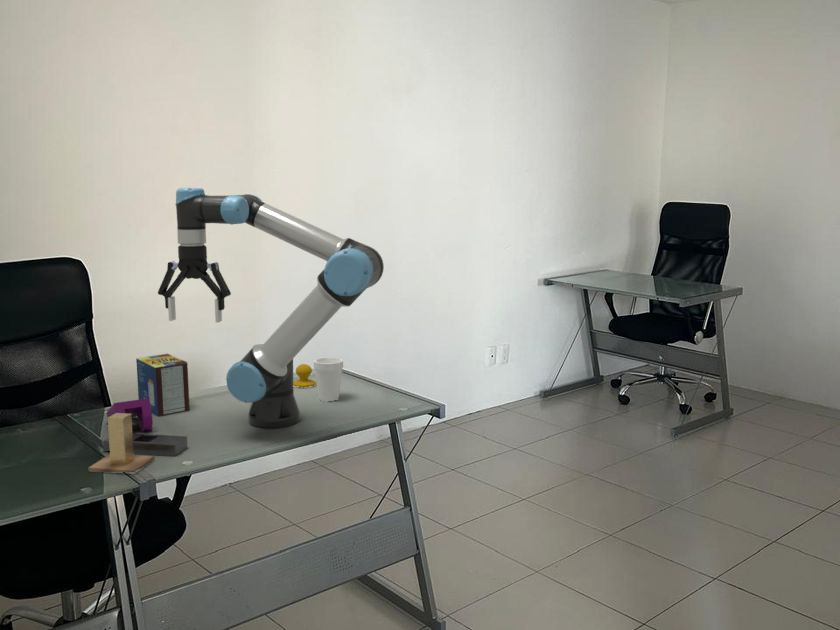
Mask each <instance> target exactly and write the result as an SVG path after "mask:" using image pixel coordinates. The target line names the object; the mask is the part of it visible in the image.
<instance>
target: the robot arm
mask: <svg viewBox="0 0 840 630" xmlns="http://www.w3.org/2000/svg"><path fill="white" fill-rule="evenodd" d="M175 208H176V209H175V211H176V222H177V223H176V224H177V226H176V228H177V230H176V231H177V244H178V247H177V254H178V257H177V258H178V262H176V261H174V260H172V261H169V262H168V263H167V270H166V272H165V274H164V277H163V280H162V281H161V283H160V286H159V288H158V291H157V294H158V295H160V296H162V297H164V303H165V308H166V309H168V322H169V321H170V322H172V321H173V322H174V321H176V319H177V316H176V315H177V313H176V297H175V296H173V294H174V293H175V292H176V291H177V289H179V287H180V285H181V284H182V283H183V282H184V280H186V279H188V280H190V279H194V280H198V279H200V280H201V281H203V282H204V284H205V285H206V286H207V287H208V288H209V290H210V291H211V292H212V293H213V294H214V295H215V297H216V298H215V299H214V314H215V315H214V317H215V323H217V324H218V323H221V322H222V321H223V315H222V314H223V313H222V311H223V310H225V308H226V307H225V298H226V297H230V296H232V295H231V294H232V293H231V291H230V287H228V284H227V283H226V281H225V279H224V277H223V275H222V273H221V271H220V265H219V263H218V262H217V261H215V262H213V263H208V260H207V259H208V252H207V246H206V245H205V244H206V243H207V230H206V228H207V224H218V225H219V224H223V225H241V224H247V225H249V226H251V227H253V228H256V229H258V230H260V231H262V232H264V233H266V234H268V235H271V236H273V237H275V238H277V239H279V240H281V241H283V242H285V243H288V244H290V245H291V246H294V247H296V248H298V249H300V250H301V251H304V252H307V253H309V254H310V255H313V256H315V257H317V258H319V259H322V260H323V261H325V262H326V263H325V266H324V269H323V270H322V271H321V272H320V273H319V274H318V275H317V277H316V281H317V283H316V284H317V285H316V286H315V287H314V288H313V289H312V290H311V291H310V293H309V294H308V295H306V297H305V298H304V299H303V300H302V301H301V302H300V304H299V305H298V306H297V307H296V308H295V309H294V310H293V311H292V312H291V314H290V315H289V316H288V317H287V318H286V319H285V320H284V321H283V322H282V324H281V325H279V327H277V329H276V330H275V331H274V332H273V333H272V334H271V335H270V336H269V338H267V340H266V341H264V343H261V344H260V343H258V344H255V345H253V346H252V347H251V349H250V350H249V351H248V352H247V353H246V354H245V355H244V356H243V358H242V359H241V360H239V361H237V362H235V363H233V364H232V366H231V367H230V368H229V369H228V370H227V373H226V379H225V380H226V386H227V389H228V391H229V392H230V394H231V395H232V396H233V397H234V398H235V399H236V400H237V401H239V402H241V403H246V404H247V403H248V404H250V407H249V410H248V414H247V417H248V418H247V419H248V421H247V422H248V423H249V424H250V426H253V427H259V428H266V429H269V428H270V429H272V428H273V429H275V428H285V427H290V426H292V425H295V424H297V423H299V421H300V420H301V412H300V409H299V407H298V402H297V400H296V397H295V395H294V394H295V393H294V387H293V382H294V358H295V357H297V355H298V354H299V353H300V352H301V351H302V350H303V348H305V346H307V344H308V343H309V342H310V341H311V340H312V339H313V338H314V337H315V336H316V335H317V334H318V332H319V331H320V330H321V329H322V328H323V327H325V325H326V324H327V323H328V322H329V321H330V319H332V317H333V316H334V315H335V314H336V313H338V311H340V309H341V308H342V307H345V308H347V307H351V305H352V304H353V303H354V302H356V300H357V299H358V298H359V297H360V296H361V295H362V294H363V293H364V292H365V291H366V290H367V289H369V288H371V287H373V286H374V285H376V284H377V283H378V282H379V281H380V280H381V278H382V276H383V273H384V268H385V266H384V260H383V258H382V256H381V254H380V253H379V252H378V251H377V250H376V249H375V248H374V247H371V246H369V245H367V244H365V243H361V242H359V241H357V240H354V239H352V238H350V237H345V238H344V239H343V238H341V237H339V236H337V235H335V234H333V233H331V232H328V231H327V230H325V229H322V228H320V227H318V226H316V225H314V224H311V223H310V222H306V221H305V220H303V219H301V218H298V217H296V216H294V215H292V214H290V213H287V212H285V211H283V210H281V209H278V208H277V207H274V206H272V205H270V204H268V203H265V202H263V200H262V199H261V198H260V197H259V196H257V195H254V194H250V193H249V194H235V195H232V194H231V195H229V194H228V195H208V194H207V195H206V193H205V190H204V189H203V188H202V187H179V188H177V189H176V192H175ZM177 269H178V270H179V271H180V272H179V274H178V275H177V277H176V279H175V280H174V281H173V282H172V283H171V281H172V279H173V277H174V274H175V272H176V270H177ZM208 269H209V271H210V272H211V274H212V275H213V277H214V279H215V281H216V282H215V281H214V280H213V279H212V278H211V276H210V274H209V273H208V272H207V270H208ZM216 283H217V284H216ZM170 284H171V285H170ZM169 285H170V286H169Z"/></svg>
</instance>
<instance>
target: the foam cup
mask: <svg viewBox="0 0 840 630" xmlns="http://www.w3.org/2000/svg"><path fill="white" fill-rule="evenodd" d="M313 369H314V375H315V382H316V387H317V395H318V400H319V399H320V400H321V401H320V400H319V401H320V402H323V401H333V402H335V401H334V400H337V399H338V398H340V390H341V385H342V384H341V382H342V374H343V369H344V359H342V358H340V357H335V356H332V357H331V356H326V357H325V356H324V357H323V356H322V357H318V358H316V359H314V360H313ZM338 400H339V399H338ZM338 400H337V401H338Z"/></svg>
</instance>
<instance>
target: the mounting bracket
mask: <svg viewBox="0 0 840 630" xmlns="http://www.w3.org/2000/svg"><path fill="white" fill-rule="evenodd" d="M115 413H127V414H131V417H133V418H136V417H137V418H136V419H137V424H138V427H139V430H140V431H141V432H146V431H152V430H153V414H152V412H151V406H150V399H149V398H147V399H140V400H139V399H134V400H128V401H127V400H126V401H121V402H120V401H119V402H114V403H113V404H112V405H111V407H110V408H109V409H108V410H107V411H106V417H107V419H108V417H110V416H112V415H113V414H115Z"/></svg>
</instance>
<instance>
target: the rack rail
mask: <svg viewBox="0 0 840 630" xmlns="http://www.w3.org/2000/svg"><path fill="white" fill-rule="evenodd" d="M132 435H133V452H134V455H145V456H164V457H165V456H166V457H177V456H178V455H179V454H180V453H182V452H183V451H186V449H187V448H188V436H186V435H185V436H183V435H182V436H181V435H170V434H169V435H166V434H165V435H164V434H153V433H152V434H151V433H149V434H148V433H134V432H132ZM102 446H103V452H104V451H110V447H109V436H108V437H107V438H105V439H104V440H102Z"/></svg>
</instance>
